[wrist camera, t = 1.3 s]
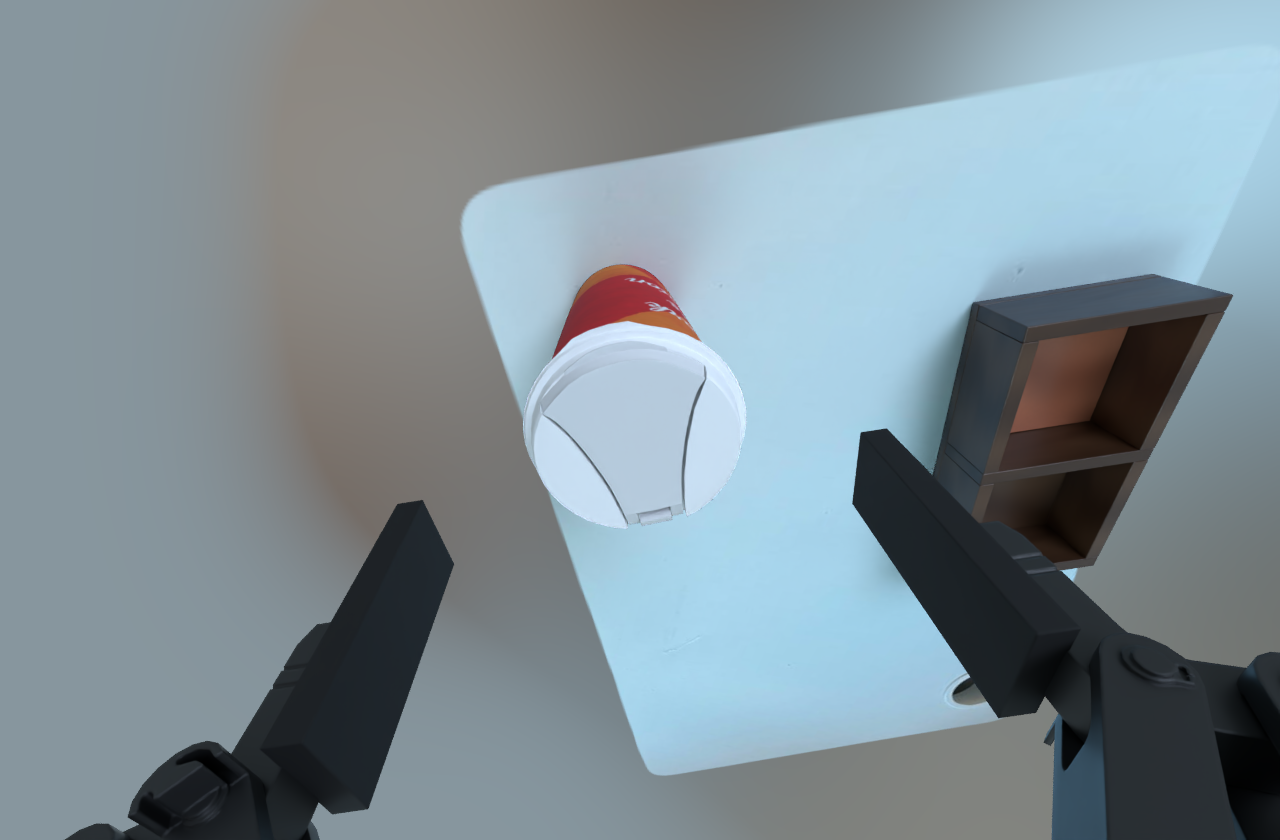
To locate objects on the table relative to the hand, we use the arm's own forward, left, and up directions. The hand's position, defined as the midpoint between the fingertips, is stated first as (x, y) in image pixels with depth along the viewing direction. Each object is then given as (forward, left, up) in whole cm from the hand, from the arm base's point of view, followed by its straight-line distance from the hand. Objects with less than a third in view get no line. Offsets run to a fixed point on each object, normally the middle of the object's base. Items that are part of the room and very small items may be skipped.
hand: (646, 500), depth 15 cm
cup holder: (+14, +28, -17) cm, 36 cm away
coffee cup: (0, 0, -18) cm, 18 cm away
